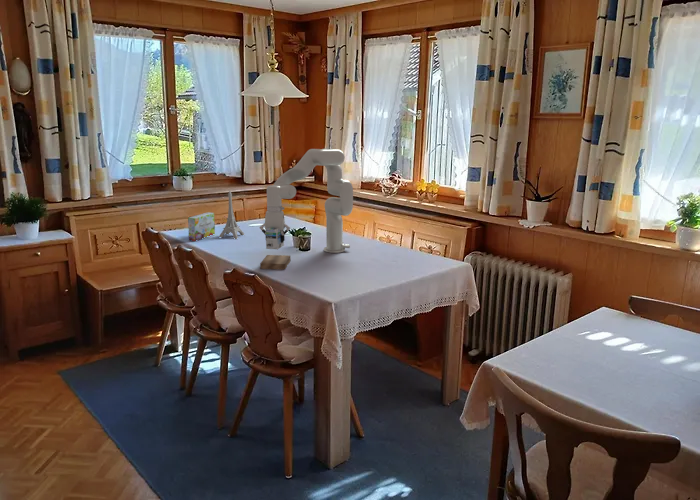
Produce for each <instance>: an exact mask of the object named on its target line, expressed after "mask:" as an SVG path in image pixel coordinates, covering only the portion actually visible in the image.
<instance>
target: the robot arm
mask: <svg viewBox="0 0 700 500" xmlns="http://www.w3.org/2000/svg"><path fill="white" fill-rule="evenodd" d="M345 157H346V156H345V153H344V152H343V151H342V150H341V149H337V148H336V149H335V148H334V149H333V148H322V149H320V148H310V149H308V150H307V151H306V152H305V154H304V155H303V156H302V157H301V159H299V161H298V162H297V163H296V164H295V165H294V167H292V168H290V169H288V170H287V171H285V172H284V173H282V174H281V175H280V176H279V177H278V178H277V179H276V180H275V182H274V183H273V185H272V184H271V185H267V186H266V211H265V217H264V223H263V224H261V226H259V229H260V231H261V232H262V233H263V234H264V235H265V236H266V229H267V228H278V229H279V230H280V232H281V234H282V235H281V243H283V242H284V243H285V241H286V239H285V235H286V234H287V233H288V232H289V231H290V229H291V226H289V225H288V224H286V221H285V214H284V211H283V210H285V206H282V205H283V204H282V199H288V200H291V199H294V197H296V194H297V189H296V187H295V186H294V185H292V183H295V182H297V181H301V180H304V179H306V178H307V177H308V176H309V175H310V174H311V172H312V171H313V170H314V168H315V167H316V166H323V167H325V169H326V176H327V179H326V184H327V185H326V187H327V188H326V189H327V192H328V194H330V195H332V196H331V197H329V198H327V199H326V200H325V202H324V211H325V218H326V220H325V221H326V226H325V227H326V229H325V231H326V243H325V244H326V247H324V248H323V251H324V252H326V253H331V254H338V253H344V252H345V251H346V249H350V248H351V245H350V244H348V243H347V244H346V243H345V244H344V241H343V239H344V238H343V234H344V231H343V227H344V226H343V224H344V223H343V217H346V216H349V215H351V214H352V212H353V208H354V187H353V184H352V183H351V181H349V180H347V179H343V169H342V166H341V165H342V164H343V163H344V161H345V159H346V158H345ZM335 196H338V197H335ZM342 216H343V217H342ZM283 229H284V230H283Z"/></svg>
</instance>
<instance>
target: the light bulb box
mask: <svg viewBox="0 0 700 500" xmlns="http://www.w3.org/2000/svg"><path fill="white" fill-rule="evenodd" d="M265 230H266V235H265V247H266V248H265V249H266V250H279V249H281V248H282V247H284V246H285V241H284V242H283V243H281V235H282V234H281V232H280V230H279V229H278V228H267V229H265ZM283 230H284V231H285V228H284V229H283Z"/></svg>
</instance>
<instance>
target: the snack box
mask: <svg viewBox="0 0 700 500" xmlns="http://www.w3.org/2000/svg"><path fill="white" fill-rule="evenodd" d="M187 222H188V224H187V225H188V241H189V240H192V241H191V242H197V241H196V240H198V241H200V240H199V239H201V240H203V239H202V238H204V237H207V236H210V235H213V234H215V235H216V229H215V228H216V227H215V212H208V211H207V212H204V213H201V214H197V215H192V216H190V217H189V216H188V218H187ZM213 236H214V235H213ZM210 237H211V236H210ZM207 238H208V237H207ZM204 239H205V238H204Z"/></svg>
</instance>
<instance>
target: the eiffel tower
mask: <svg viewBox="0 0 700 500" xmlns="http://www.w3.org/2000/svg"><path fill="white" fill-rule="evenodd" d="M227 197H228V209H227V211H228V213H227V217H226V222H225V225H224V227H223V228H222V229H223V230H222V231H221V233H220V234H219V236H218V237H223V238H224V235H225V234H229V233H230V234H232V236H233V239H234V238H235V239H234V240H238V239H237V238H239V237H238V233H239V235H244V234H245V233H244V231H243V230H242V229H241V228H240V226H238V223H237V221H236V217H235V215H234V208H233V201H232V200H233V199H232V197H233V194H232V192H231V190H228V194H227ZM230 234H229V235H230ZM244 236H245V235H244Z"/></svg>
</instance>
